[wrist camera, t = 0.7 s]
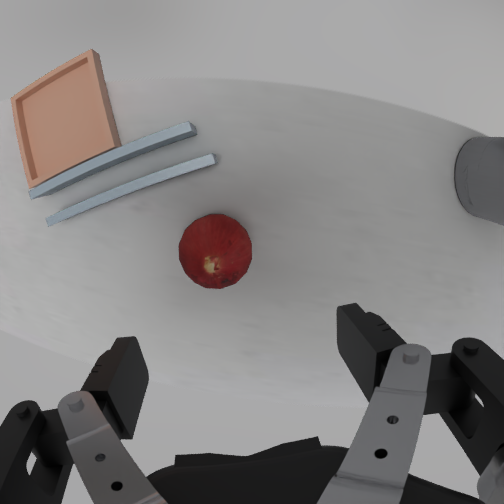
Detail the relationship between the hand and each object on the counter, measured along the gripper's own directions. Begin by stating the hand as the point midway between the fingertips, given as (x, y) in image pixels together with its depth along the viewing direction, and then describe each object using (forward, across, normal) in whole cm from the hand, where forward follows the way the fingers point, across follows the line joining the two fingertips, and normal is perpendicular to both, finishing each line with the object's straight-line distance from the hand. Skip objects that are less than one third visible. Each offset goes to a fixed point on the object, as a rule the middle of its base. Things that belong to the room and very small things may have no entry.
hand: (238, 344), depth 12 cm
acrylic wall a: (+18, +8, -6) cm, 20 cm away
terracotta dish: (+18, +14, -14) cm, 27 cm away
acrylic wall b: (+18, +9, -9) cm, 22 cm away
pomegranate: (+18, +1, 0) cm, 18 cm away
